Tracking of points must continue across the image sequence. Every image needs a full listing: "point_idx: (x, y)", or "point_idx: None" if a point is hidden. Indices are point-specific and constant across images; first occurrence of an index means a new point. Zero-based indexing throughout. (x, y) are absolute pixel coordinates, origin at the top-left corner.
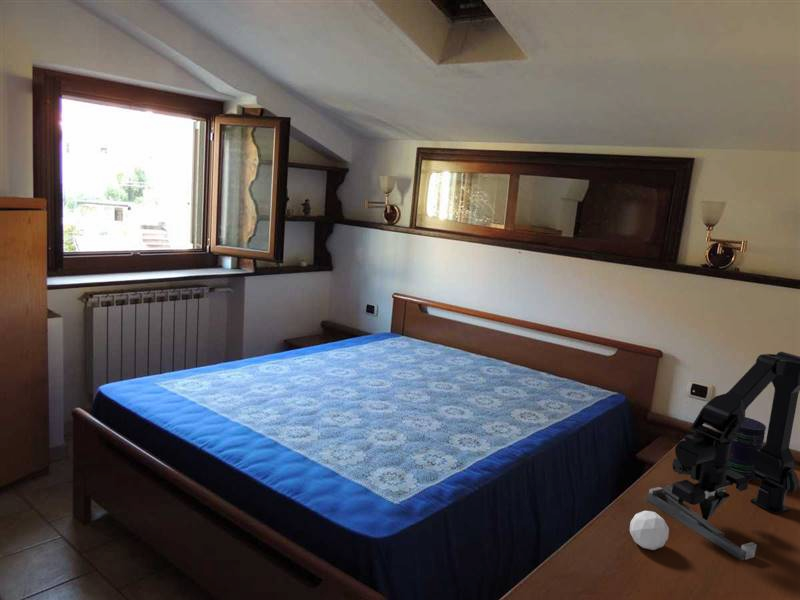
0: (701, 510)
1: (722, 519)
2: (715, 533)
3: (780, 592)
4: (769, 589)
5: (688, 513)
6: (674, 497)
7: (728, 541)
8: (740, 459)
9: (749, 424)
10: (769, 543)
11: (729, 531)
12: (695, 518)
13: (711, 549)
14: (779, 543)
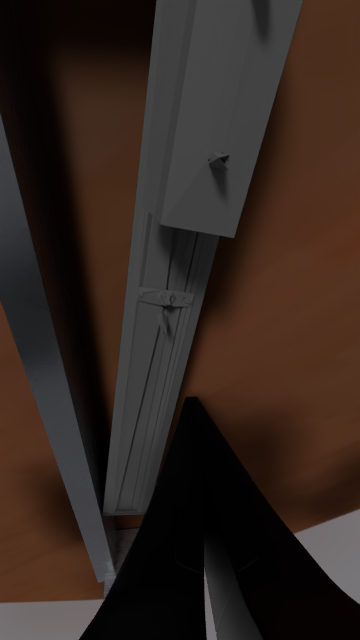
0: (169, 446)
1: (349, 359)
2: (89, 519)
3: (88, 598)
4: (68, 595)
5: (125, 339)
6: (151, 120)
7: (99, 551)
8: None
9: None
10: (311, 494)
11: (255, 433)
12: (120, 397)
13: (35, 499)
14: (342, 497)
